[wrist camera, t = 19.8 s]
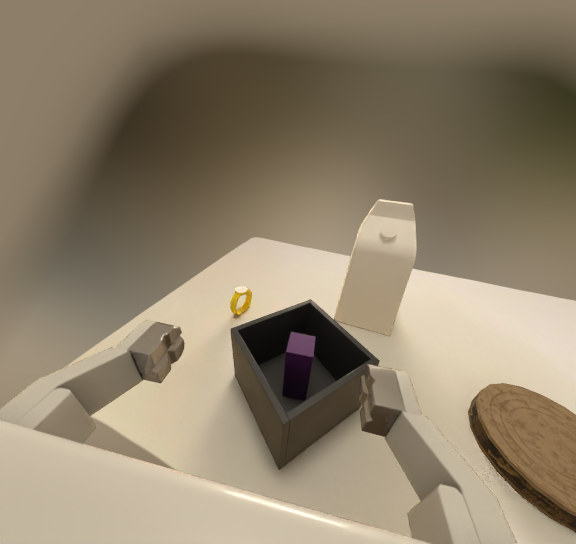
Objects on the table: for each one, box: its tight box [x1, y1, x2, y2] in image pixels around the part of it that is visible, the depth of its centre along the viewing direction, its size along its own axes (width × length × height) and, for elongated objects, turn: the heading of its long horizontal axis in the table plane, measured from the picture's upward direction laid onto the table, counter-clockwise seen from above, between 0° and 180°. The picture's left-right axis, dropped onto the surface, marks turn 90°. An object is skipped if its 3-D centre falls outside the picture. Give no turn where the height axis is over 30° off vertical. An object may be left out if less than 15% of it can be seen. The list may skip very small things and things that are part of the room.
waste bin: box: [231, 299, 379, 469], centre depth 33 cm, size 15×15×11 cm
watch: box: [230, 286, 252, 315], centre depth 50 cm, size 6×3×6 cm, turn 152°
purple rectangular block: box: [282, 332, 316, 401], centre depth 33 cm, size 4×4×10 cm
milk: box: [334, 199, 416, 336], centre depth 47 cm, size 12×12×26 cm
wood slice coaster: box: [468, 383, 576, 532], centre depth 30 cm, size 16×16×3 cm
